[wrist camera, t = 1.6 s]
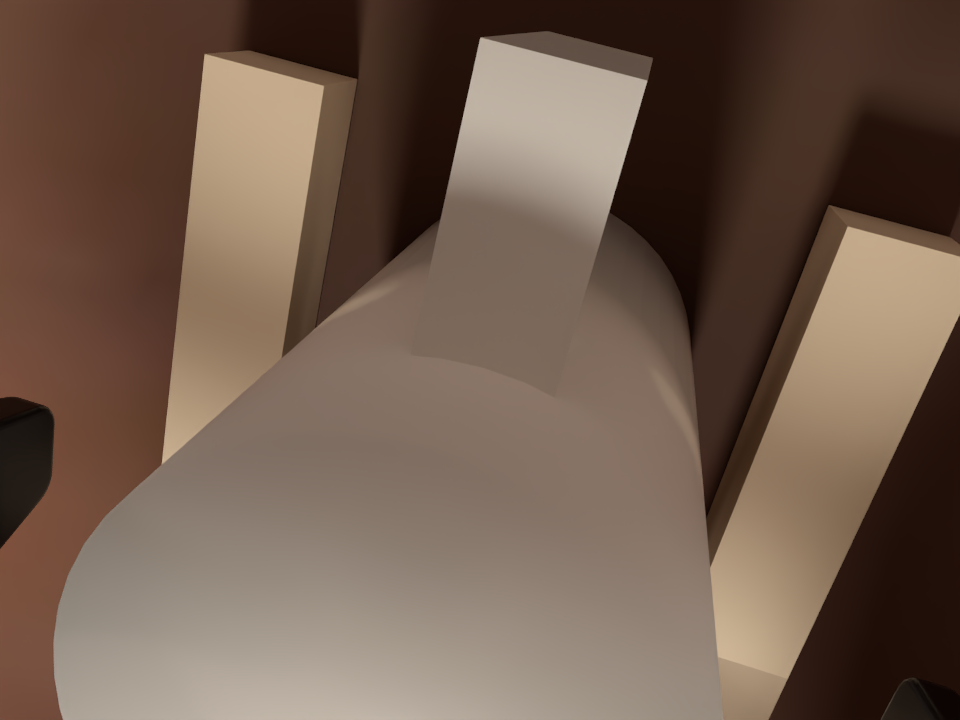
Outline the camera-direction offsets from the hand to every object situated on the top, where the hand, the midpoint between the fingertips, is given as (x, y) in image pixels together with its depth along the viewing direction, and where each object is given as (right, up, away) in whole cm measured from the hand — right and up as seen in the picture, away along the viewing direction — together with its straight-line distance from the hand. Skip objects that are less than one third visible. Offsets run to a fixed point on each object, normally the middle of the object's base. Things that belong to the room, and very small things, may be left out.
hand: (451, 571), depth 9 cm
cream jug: (+1, +3, +5) cm, 7 cm away
